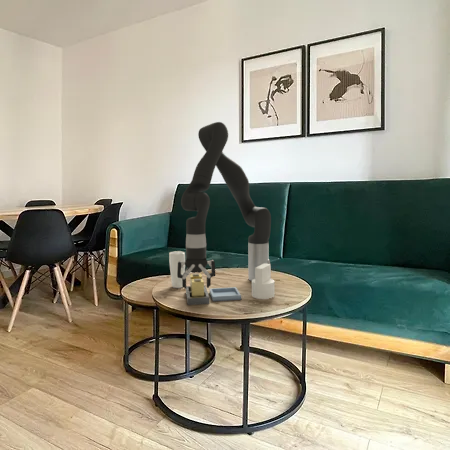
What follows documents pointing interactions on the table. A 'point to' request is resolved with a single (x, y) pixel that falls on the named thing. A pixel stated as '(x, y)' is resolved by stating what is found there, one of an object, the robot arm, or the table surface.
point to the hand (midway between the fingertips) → (196, 287)
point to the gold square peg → (197, 288)
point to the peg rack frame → (197, 300)
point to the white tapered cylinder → (176, 267)
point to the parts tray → (225, 294)
